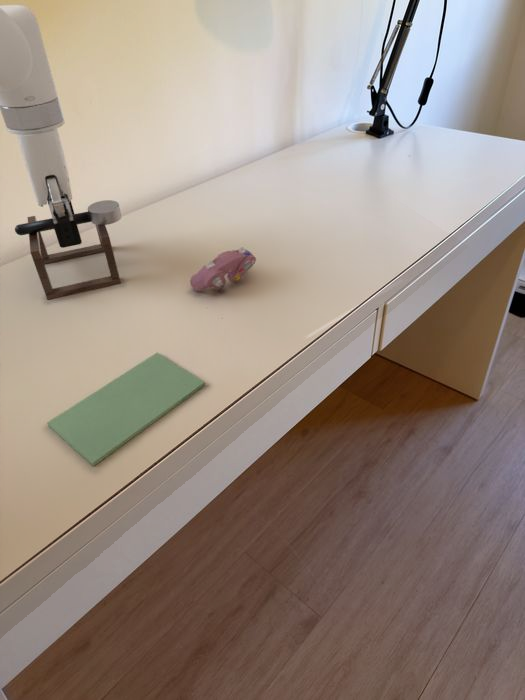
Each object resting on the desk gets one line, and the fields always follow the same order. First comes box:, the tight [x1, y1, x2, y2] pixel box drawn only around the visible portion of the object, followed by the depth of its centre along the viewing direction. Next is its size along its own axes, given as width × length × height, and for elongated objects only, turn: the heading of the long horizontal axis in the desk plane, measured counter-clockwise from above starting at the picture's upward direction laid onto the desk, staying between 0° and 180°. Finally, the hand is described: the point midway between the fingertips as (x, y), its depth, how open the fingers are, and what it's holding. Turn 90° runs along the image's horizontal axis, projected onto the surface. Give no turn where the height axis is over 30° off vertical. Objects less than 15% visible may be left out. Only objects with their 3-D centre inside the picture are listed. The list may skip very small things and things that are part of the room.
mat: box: [46, 352, 206, 467], centre depth 61 cm, size 16×9×1 cm, turn 138°
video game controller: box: [189, 246, 257, 292], centre depth 79 cm, size 10×5×7 cm, turn 131°
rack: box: [27, 215, 121, 300], centre depth 84 cm, size 11×13×8 cm
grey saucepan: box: [14, 199, 123, 236], centre depth 81 cm, size 16×5×2 cm, turn 111°
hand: (68, 232), depth 82 cm, fingers open, 8 cm apart
